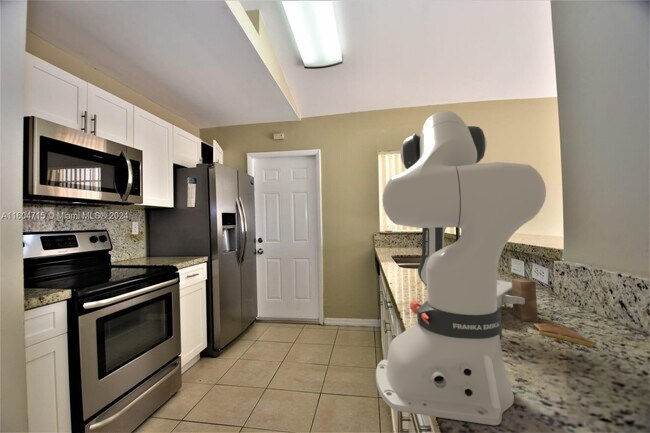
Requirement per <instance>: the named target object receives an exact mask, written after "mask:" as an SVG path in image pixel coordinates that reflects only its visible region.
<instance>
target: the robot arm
mask: <svg viewBox="0 0 650 433" xmlns="http://www.w3.org/2000/svg"><path fill="white" fill-rule="evenodd" d="M420 132H421V133H413V134H412V135H410V136H408V137H407V138H405V139H404V141H403V142H402V145H401V149H400V160H401V162H402V164H403V165H404V168H405V170H404V171H402V172H399V173H398V174H395V175H393V176H392V177H391V178H390V179H389V180H388V181H387V183H386V184H385V186H384V190H383V193H382V207H383V210H384V211H385V212H384V213H385V215H386V216H387V217H388V219H389V220H390V222H392V223H394V224H395V225H398V226H403V227H410V228H416V229H417V228H418V229H422V230H421V231H422V232H421V259H420V262H419V264H418V267H417V268H418V269H417V273H418V274H417V275H418V277H419V279H420V281H421V282H422V284H424V286H425V289H426V295H427V297H426V298H427V300H426V301H425V302H424V303H423V304H422V305H421V304H420V303H419V301H417V300H413V301H410V303H409V308H410V310H411V311H412V313H413V314H416V317H417V318H416V319H417V321H416V322H415V323H414V324H412V325H411V326H410V327H409V328H407V329H406V330H404V331H403V332H402V333H400V334H399V335H397V336H396V337H394V338H393V339H392V340H391V342H390V345H389V346H388V347H389V348H388V352H387V359H381V360H380V362H378V364H377V366H376V369H375V382H376V387H377V390H378V393H379V394H380V397H381V398H382V399H383V401H384V403H385V404H386V405H387V406H389V408H391V409H392V410H393V411H396V412H397V411H398V412H401V413H402V412H403V413H410V414H414V415H415V414H416V415H423V416H429V417H436V418H442V419H447V420H448V419H450V420H455V421H456V420H457V421H462V422H467V423H468V422H469V423H477V424H483V425H490V426H499V425H500V424H501V422H502V421H503V420H502V419H503V414H504V412H506V411H507V410H509V408H511V407H512V405H513V404H514V401H515V396H514V393H513V390H512V387H511V385H510V381H509V377H508V374H507V372H506V366H505V362H504V358H503V352H502V351H503V350H502V344H501V340H502V338H503V326H502V314H501V309H500V308H501V307H503V305H505V304H508V305H509V304H512V305H513V304H524V303H525V302H526V301H525V297H521V296H513V294H512V281H506V280H499V279H498V266H499V261H500V259H501V255H502V253H503V250H504V248H505V246H506V244H507V243H508V241H509V240H510V238H511V237H512V236H513V235H514V234H515V233H516V232H517V231H518V230H519V229H520V228H521V227H522V226H524V225H525V224H527V223H528V222H530V221H531V220H533V219H534V218H535V217H536V216H537V215H538V214H539V213H540V211H541V209H542V208H543V207H544V203H545V201H546V196H547V189H546V188H547V187H546V183H545V181H544V178H543V177H542V175H541V174H540V173H539V171H538V170H537V169H536V168H534V167H533V166H532V165H531V164H528V163H527V164H526V163H516V162H504V161H503V162H501V161H493V162H485V163H479V162H481V161H482V160H483V159H484V157H485V153H486V151H487V146H488V145H487V144H488V141H487V138H486V136H485V133H484V130H483V129H482V128H481V127H480V126H472V125H471V126H470V125H469V126H468V125H467V123H466V122H465V121H464V120H463V119H462V118H461V116H459V115H458V114H457V113H456V112H453V111H451V110H442V111H437V112H435V113H433V114H432V115H430V116H429V117H428V118H427V119H426V121H425V122H424V124H423V126H422V129H421V131H420ZM446 228H459V229H460V230H461V232H460V236H459V237H458V239H457V240H456V241H455V242H453V243H452V244H449V245H447V246H445V232H446Z"/></svg>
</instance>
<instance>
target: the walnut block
mask: <svg viewBox="0 0 650 433" xmlns="http://www.w3.org/2000/svg"><path fill="white" fill-rule="evenodd" d="M511 283H512V294H513V296H521V297H525V301H526V302H525V303H524V304H512V311H513V312H512V313H513V317H514V318H516V319H517V320H520V321H521V322H538V321H539V320H538V302H537V286H536V285H537V284H536V281H534V280H532V279H528V278H511Z"/></svg>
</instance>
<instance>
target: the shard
mask: <svg viewBox="0 0 650 433" xmlns="http://www.w3.org/2000/svg"><path fill="white" fill-rule="evenodd" d="M533 326H534V327H535V328H537V330H538V333H539V335H540V336H541V335H542V336H547V337H550V338H551V337H552V338H555V339H559V340H562V341H567V342H571V343H574V344H578V345H582V346H587V347H590V348H591V347H593V348H595V345H597V343H596V342H594V341H593V340H590V339H588V338H586V337H585V336H584V335H582V334H580V333H579V332H576V331H574V330H573V329H570V328H568V327H566V326H564V325H559V324H555V323H542V322H541V323H540V322H537V323H535V322H534V323H533Z"/></svg>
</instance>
